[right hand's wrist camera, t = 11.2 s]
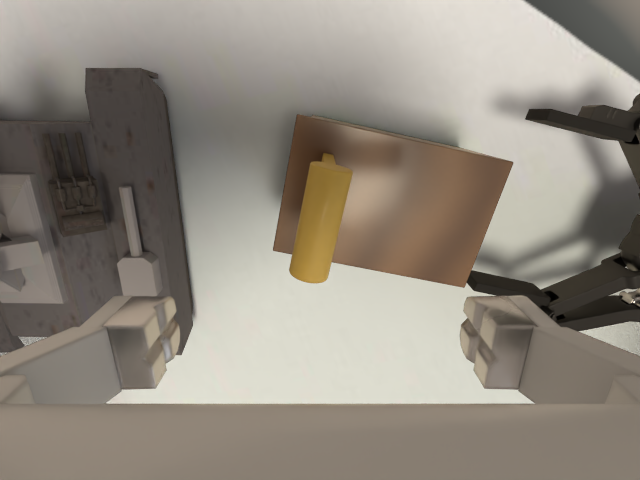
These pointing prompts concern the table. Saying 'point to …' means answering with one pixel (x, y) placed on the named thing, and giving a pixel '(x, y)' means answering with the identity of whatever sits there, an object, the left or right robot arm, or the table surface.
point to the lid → (384, 204)
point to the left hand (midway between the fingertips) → (499, 203)
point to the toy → (90, 211)
